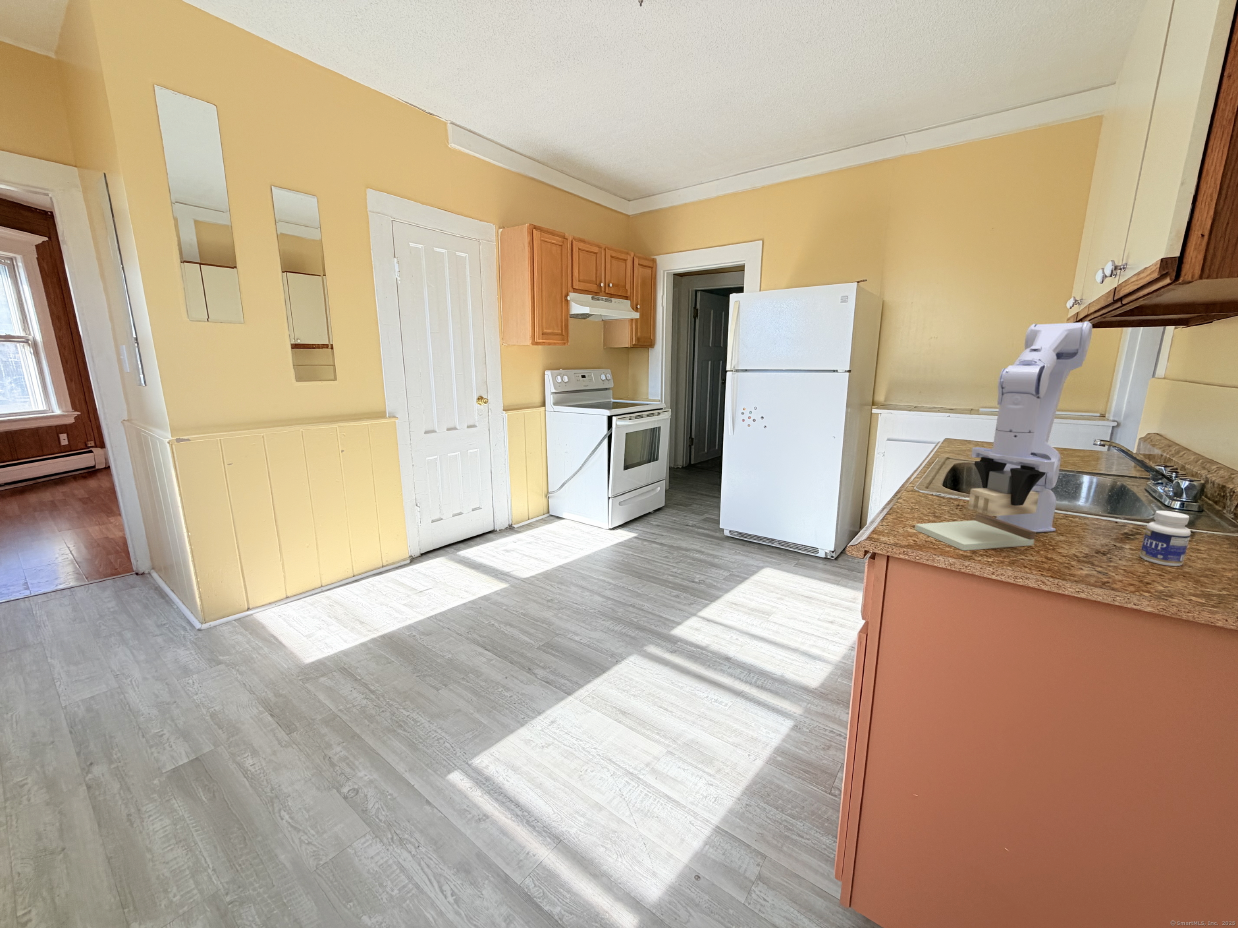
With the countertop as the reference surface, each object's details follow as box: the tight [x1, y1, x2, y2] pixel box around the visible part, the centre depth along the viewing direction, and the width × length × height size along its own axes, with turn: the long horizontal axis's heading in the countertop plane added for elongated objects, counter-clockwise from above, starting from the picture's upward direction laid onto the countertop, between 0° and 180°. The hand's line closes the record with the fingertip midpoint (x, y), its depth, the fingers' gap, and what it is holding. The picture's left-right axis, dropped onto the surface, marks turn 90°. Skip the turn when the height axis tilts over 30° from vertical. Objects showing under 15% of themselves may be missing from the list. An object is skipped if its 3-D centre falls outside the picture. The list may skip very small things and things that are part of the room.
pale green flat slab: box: [914, 513, 1037, 551], centre depth 99 cm, size 16×12×3 cm
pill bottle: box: [1139, 510, 1191, 567], centre depth 87 cm, size 5×5×9 cm
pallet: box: [967, 487, 1039, 517], centre depth 94 cm, size 10×5×4 cm, turn 101°
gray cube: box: [987, 471, 1012, 494], centre depth 93 cm, size 4×4×4 cm
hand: (1002, 500), depth 94 cm, fingers closed on pallet, 5 cm apart
